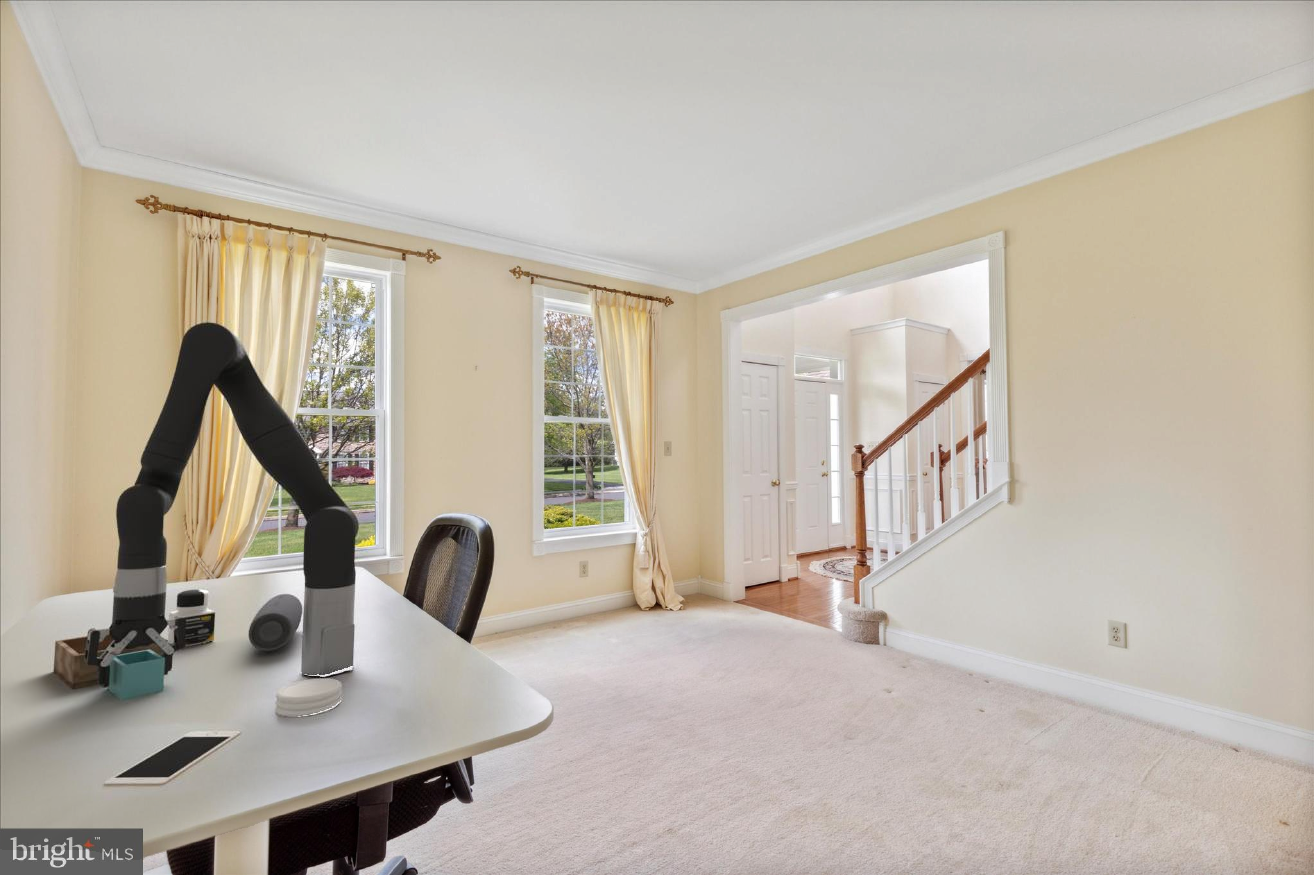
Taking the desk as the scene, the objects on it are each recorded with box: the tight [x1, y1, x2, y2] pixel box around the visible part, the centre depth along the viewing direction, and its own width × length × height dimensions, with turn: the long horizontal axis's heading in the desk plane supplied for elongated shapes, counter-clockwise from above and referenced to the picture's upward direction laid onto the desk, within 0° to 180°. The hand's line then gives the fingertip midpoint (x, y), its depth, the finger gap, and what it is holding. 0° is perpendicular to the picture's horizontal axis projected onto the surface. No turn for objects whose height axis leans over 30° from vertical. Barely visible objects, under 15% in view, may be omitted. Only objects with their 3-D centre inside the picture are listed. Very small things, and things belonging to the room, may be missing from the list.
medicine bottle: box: [167, 588, 216, 648], centre depth 145 cm, size 7×7×12 cm
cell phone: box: [103, 730, 242, 786], centre depth 88 cm, size 8×16×1 cm, turn 2°
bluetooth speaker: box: [248, 593, 303, 652], centre depth 145 cm, size 23×9×10 cm, turn 25°
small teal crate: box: [107, 649, 165, 701], centre depth 114 cm, size 9×6×6 cm, turn 53°
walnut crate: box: [53, 635, 169, 690], centre depth 124 cm, size 16×14×6 cm
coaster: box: [275, 677, 343, 718], centre depth 107 cm, size 10×10×4 cm
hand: (135, 680), depth 114 cm, fingers open, 8 cm apart
